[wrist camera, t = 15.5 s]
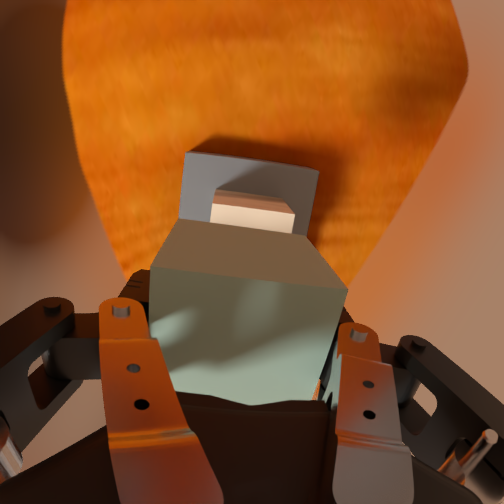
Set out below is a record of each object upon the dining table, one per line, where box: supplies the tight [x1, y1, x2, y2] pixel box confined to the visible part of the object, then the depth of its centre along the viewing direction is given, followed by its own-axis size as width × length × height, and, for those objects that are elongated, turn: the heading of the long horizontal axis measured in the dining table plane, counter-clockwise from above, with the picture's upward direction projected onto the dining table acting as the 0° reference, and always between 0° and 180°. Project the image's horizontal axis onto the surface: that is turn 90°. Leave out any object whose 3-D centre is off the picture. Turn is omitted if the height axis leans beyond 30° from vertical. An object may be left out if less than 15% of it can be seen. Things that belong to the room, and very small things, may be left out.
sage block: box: [149, 218, 348, 405], centre depth 11 cm, size 5×5×5 cm
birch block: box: [210, 189, 295, 233], centre depth 27 cm, size 6×6×6 cm
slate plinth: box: [179, 151, 319, 237], centre depth 31 cm, size 12×12×3 cm
